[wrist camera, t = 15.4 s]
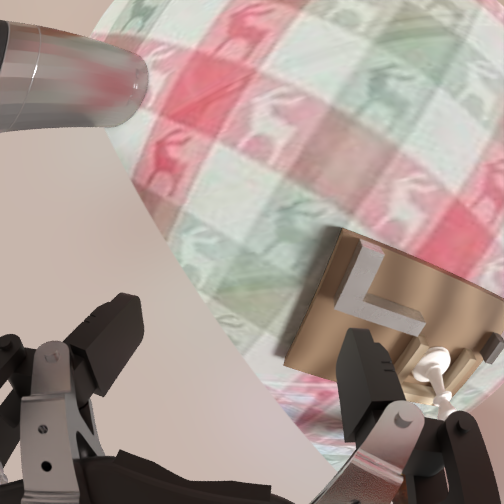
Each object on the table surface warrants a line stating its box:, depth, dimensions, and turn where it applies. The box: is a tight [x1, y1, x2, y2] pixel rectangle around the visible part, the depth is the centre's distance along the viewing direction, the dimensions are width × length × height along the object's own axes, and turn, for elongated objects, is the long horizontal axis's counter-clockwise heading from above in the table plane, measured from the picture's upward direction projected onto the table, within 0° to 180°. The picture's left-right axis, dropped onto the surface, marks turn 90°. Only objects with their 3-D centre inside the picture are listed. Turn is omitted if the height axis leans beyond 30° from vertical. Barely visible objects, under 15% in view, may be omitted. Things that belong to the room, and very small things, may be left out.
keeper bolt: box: [334, 239, 426, 337], centre depth 22 cm, size 9×6×2 cm, turn 74°
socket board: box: [283, 228, 504, 406], centre depth 24 cm, size 24×16×4 cm, turn 74°
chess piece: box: [411, 347, 456, 421], centre depth 19 cm, size 5×5×10 cm
